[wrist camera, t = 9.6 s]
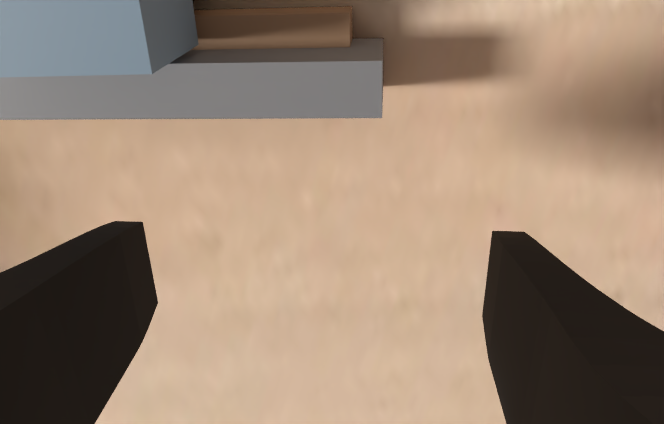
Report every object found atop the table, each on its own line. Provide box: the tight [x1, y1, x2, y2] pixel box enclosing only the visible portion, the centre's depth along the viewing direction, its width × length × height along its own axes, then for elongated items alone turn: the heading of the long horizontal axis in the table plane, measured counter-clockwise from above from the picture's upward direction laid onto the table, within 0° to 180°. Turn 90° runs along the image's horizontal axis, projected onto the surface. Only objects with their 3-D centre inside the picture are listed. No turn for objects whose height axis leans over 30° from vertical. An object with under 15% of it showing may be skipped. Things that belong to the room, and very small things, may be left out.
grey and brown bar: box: [0, 6, 383, 120], centre depth 18 cm, size 20×3×4 cm, turn 92°
